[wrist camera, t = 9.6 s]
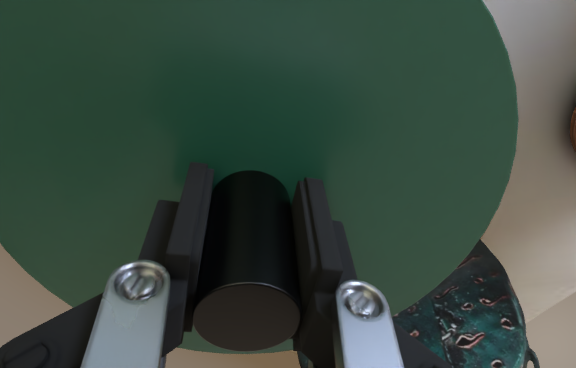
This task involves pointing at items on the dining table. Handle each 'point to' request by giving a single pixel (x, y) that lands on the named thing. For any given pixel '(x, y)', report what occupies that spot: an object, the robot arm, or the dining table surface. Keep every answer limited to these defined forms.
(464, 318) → the ceramic cat
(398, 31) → the pot lid
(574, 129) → the cup and saucer
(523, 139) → the dining table surface
